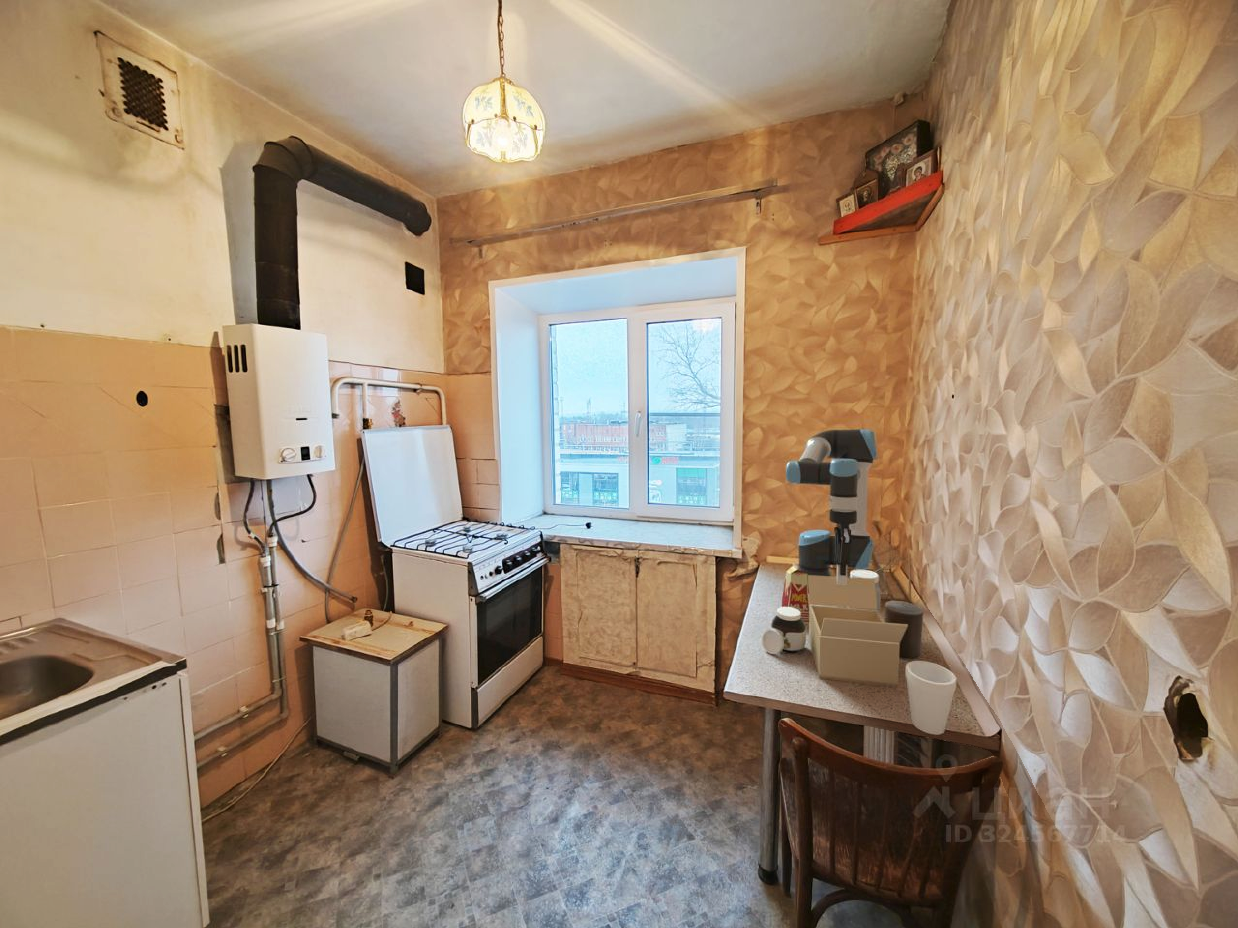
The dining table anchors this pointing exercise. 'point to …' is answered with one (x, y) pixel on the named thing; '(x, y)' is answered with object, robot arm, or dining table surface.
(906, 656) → the pillar candle
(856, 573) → the jar
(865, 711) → the dining table surface
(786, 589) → the milk carton
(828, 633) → the front flap
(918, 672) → the foam cup
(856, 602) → the back flap
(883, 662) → the carton
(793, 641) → the spread jar
